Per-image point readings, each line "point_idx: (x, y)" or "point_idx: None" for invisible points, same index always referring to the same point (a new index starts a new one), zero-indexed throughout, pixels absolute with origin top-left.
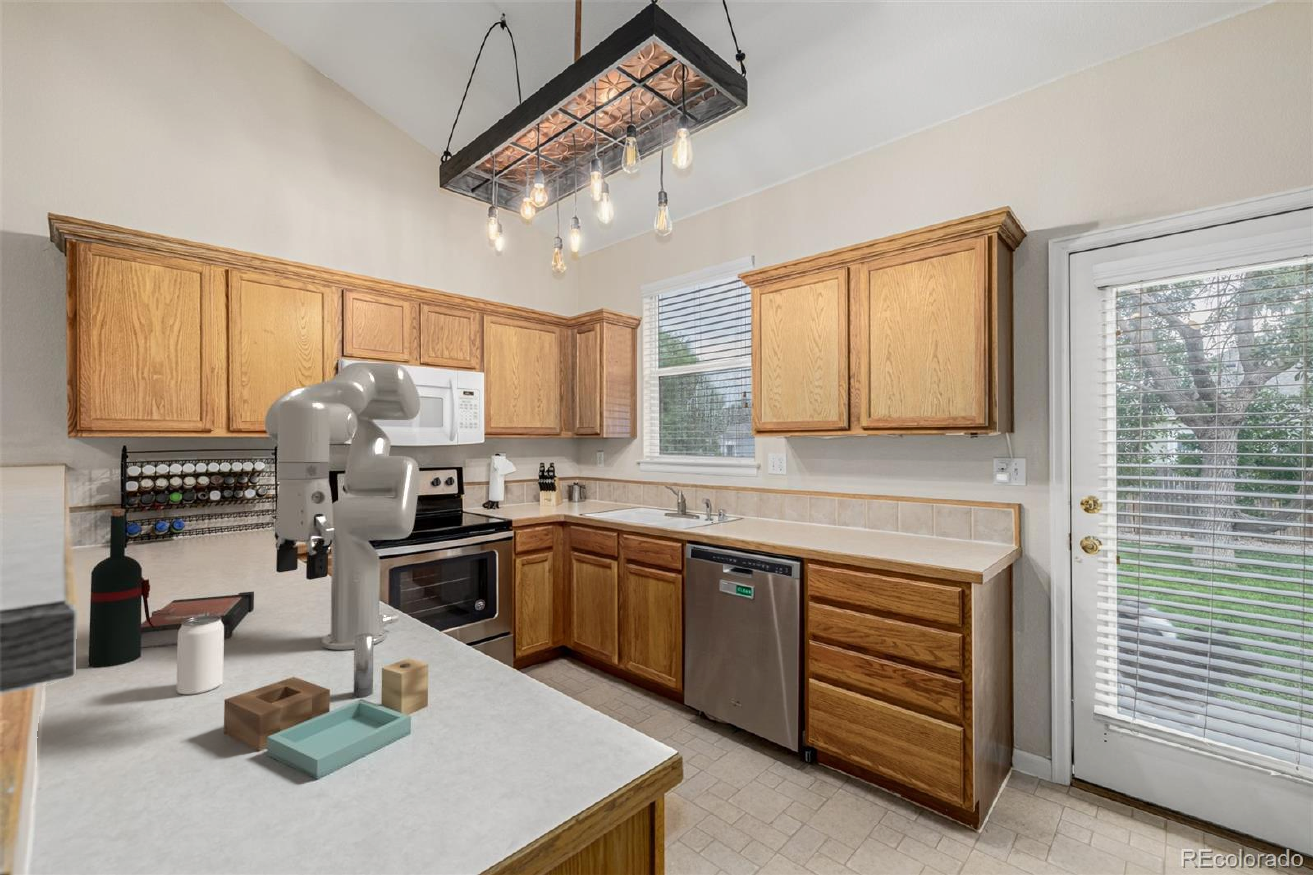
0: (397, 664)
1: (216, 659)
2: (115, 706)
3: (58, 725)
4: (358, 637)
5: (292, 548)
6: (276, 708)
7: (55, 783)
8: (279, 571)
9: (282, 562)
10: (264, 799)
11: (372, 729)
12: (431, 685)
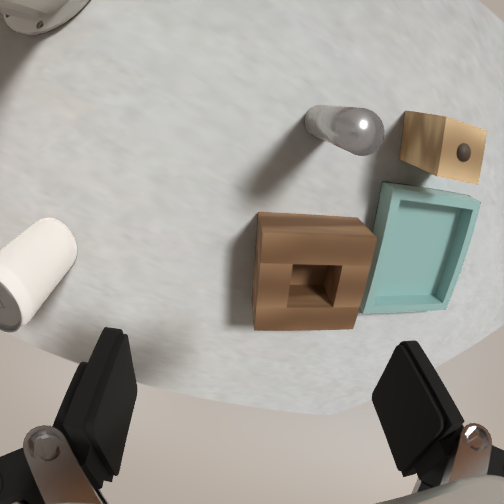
0: (449, 151)
1: (53, 257)
2: (50, 316)
3: (70, 356)
4: (358, 146)
5: (99, 447)
6: (356, 310)
7: (216, 397)
8: (136, 391)
9: (126, 416)
10: (414, 332)
11: (432, 214)
12: (398, 51)
